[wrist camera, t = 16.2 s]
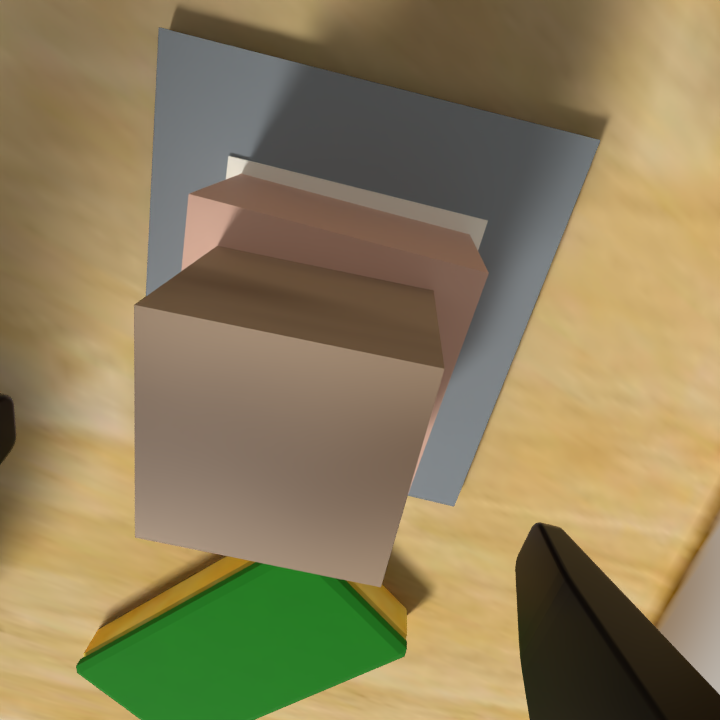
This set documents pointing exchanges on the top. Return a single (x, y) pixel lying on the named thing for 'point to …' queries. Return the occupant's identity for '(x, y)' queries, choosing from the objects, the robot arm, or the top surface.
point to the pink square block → (343, 248)
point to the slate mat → (375, 192)
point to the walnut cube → (281, 411)
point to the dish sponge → (243, 642)
